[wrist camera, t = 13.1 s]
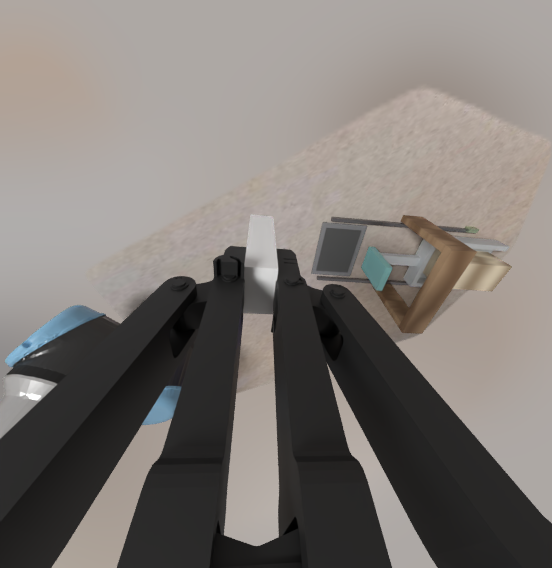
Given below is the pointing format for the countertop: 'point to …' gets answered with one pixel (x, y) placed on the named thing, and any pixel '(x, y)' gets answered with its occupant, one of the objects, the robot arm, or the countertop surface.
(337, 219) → the track
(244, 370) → the countertop surface
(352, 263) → the pad
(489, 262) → the bar
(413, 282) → the sled
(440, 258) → the tunnel
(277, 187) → the countertop surface
